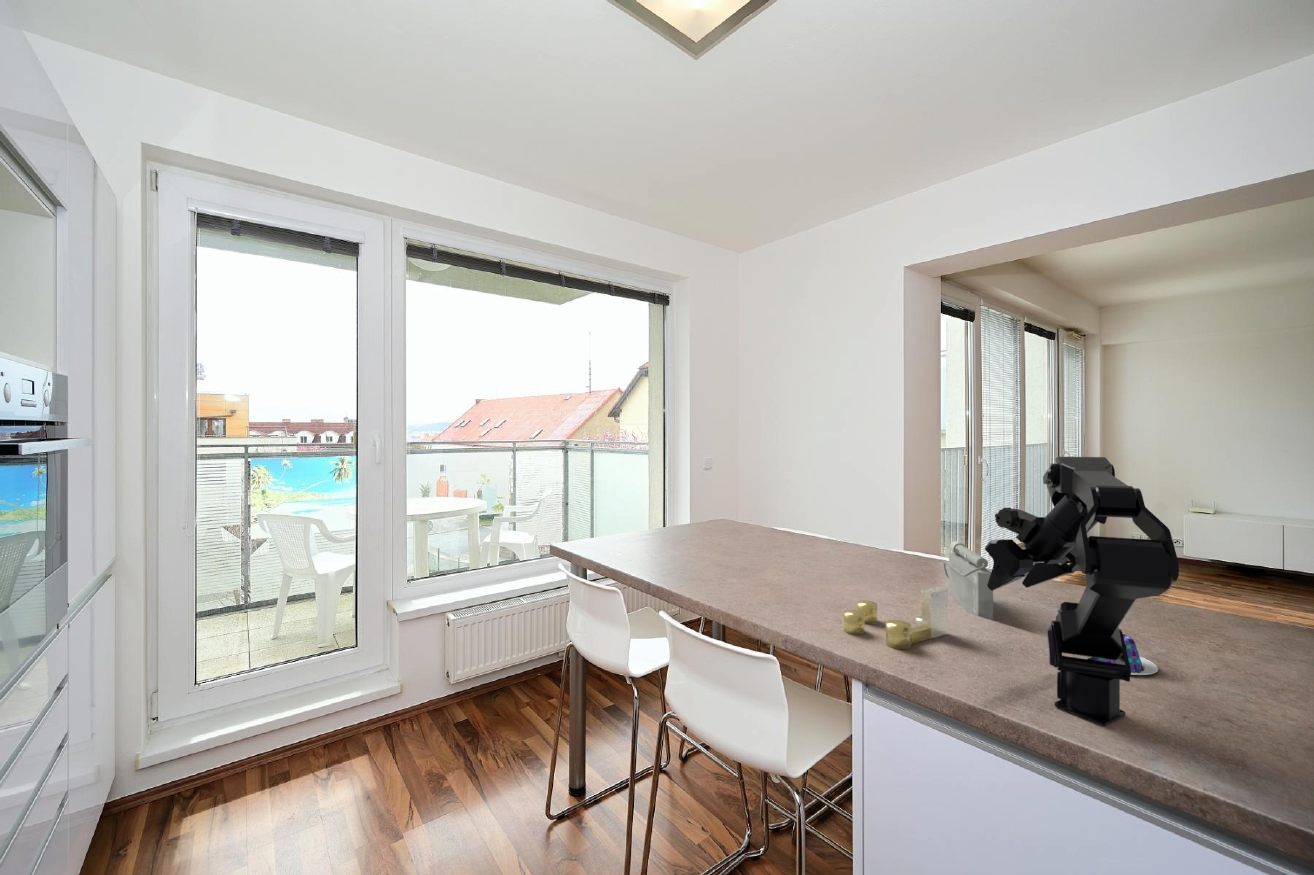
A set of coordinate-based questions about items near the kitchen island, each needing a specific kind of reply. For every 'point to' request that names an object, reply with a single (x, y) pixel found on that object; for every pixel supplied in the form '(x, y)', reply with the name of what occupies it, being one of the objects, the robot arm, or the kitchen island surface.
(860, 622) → the base
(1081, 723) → the kitchen island surface
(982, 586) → the geiger counter
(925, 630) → the lever
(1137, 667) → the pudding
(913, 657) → the kitchen island surface
